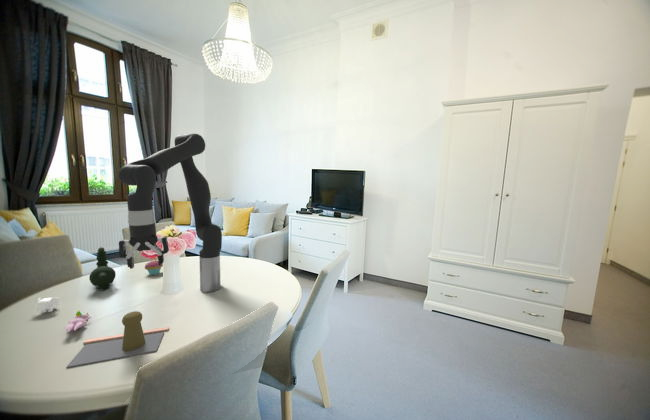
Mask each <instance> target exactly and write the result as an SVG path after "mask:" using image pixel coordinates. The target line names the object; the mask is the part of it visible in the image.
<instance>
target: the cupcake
mask: <svg viewBox="0 0 650 420" xmlns="http://www.w3.org/2000/svg"><path fill="white" fill-rule="evenodd" d="M157 259H158V255H157V256H156V257H155V256H154V260H151V261H149V262H147V263H146V264H145V266H144V269H145V270H147V272H148V274H149V275H151V276H152V275H157V274H160V271H161V269H162V267H164V265H163V263H164V262H163V263H162V265H159V263H158V260H157Z"/></svg>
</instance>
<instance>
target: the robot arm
mask: <svg viewBox="0 0 650 420" xmlns="http://www.w3.org/2000/svg"><path fill="white" fill-rule="evenodd" d="M205 150H206V141H205V139H204V138H203V136H202V135H200V134H199V133H183V134H178V135H176V136H175V137H174V146H171V147H168V148H164V149H162V150H159V151H157V152H155V153H153V154H151V155H150V156H149V155H148V156H147V157H146V158H143V159H139V160H136V161H132V162H129V163H126V164H125V165H123V166H122V167H121V168H120V169H119V171H118V173H117V175H118V180H120V182H121V183H122V184H124V185H127V186H136V187H135V188H136V189H135V191H134V192H131V193H128V195H127V197H126V203H127V214H128V215H127V224H128V231H129V239H124V238H123V239H121V240H119V241H118V253H119V254H118V255H119V258H121V259H122V258H124V259H126V264H127V265H126V266H127V267H128V268H129V269H131V270H132V269H134V268H135V261H134V254H135V253H136V252H137V251H138V252H143V251H147V252H148V251H150V250H151V251H153V252H154V253H155V254H156V253H157V261H158V263H159V265H162V263H164V261H165V259H164V258H165V257H164V254H167V253H168V252H169V251H170V249H169V243H168V242H169V241H168V237H167V235H164V236H161V237H158V236H157V229H156V217H155V211H154V205H153V195H154V192H155V187H156V186H155V185H156V182H157V177H156V176H159V175H161V174H163V173H165V172H167V171H168V170H169V169H171V168H173V167H174V166H176V165H178V164H180V166H181V169H182V172H183V177H184V180H185V185H186V190H187V194H188V199H189V200H190V205H191V209H192V212H193V218H194V227H195V234H196V236H197V238H198V240H200V241H202V248H201V249H200V250H199V287H200V288H199V290H200V292H202V293H213V292H216V291H220V290H221V250H222V244H223V243H222V242H223V240H222V239H223V236H222V235H223V233H222V229H221V227H220V226H219V225H217V224H215V223H213V222H212V219H211V215H210V206H211V200H212V199H211V197H212V196H211V195H212V193H211V189H210V186H209V185H210V184H209V182H208V180H207V179H206V177H205V176H204V174H202V173H201V171H200V170H199V169H198V168H197V166H196V164H195V162H194V158H193V157H195V156H197V155H200V154H203V153H204V152H205ZM158 242H159V243H160V244H162V248H163V249H161V247H160V246H159V245H158V244H157V243H158ZM128 244H129V245H130V246H131V247H132V249H130V251H129V252H128V253H127V251H126V250H127V249H126V248H127V246H128Z"/></svg>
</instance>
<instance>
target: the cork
mask: <svg viewBox="0 0 650 420" xmlns="http://www.w3.org/2000/svg"><path fill="white" fill-rule="evenodd" d="M142 320H143V314H142V312H141V311H139V310H138V311H136V310H135V311H130V312H128V313H126V314H125V315H124V316H123V317H122V319H121V323H122V325H123V326H124V329H123V334H124V337H123V338H122V339H123V346H122V350H123V351H133V350H136V349H139V348H140V347H142V346H143V345H144V344H145V338H144V335H145V334H143V331H144V330H143V327H142Z"/></svg>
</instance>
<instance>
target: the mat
mask: <svg viewBox="0 0 650 420" xmlns="http://www.w3.org/2000/svg"><path fill="white" fill-rule="evenodd" d="M164 334H165V331H163V332H156V333H150V334H144V338H145V344H144V345H143V346H142V347H140V348H139V349H136V350H133V351H123V350H122V346H123V338H119V339H113V340H106V341H100V342H94V343H88V344H84V345H83V347H82V348H81V349H80V350H79V352H78V353H77V354H76V355H75V356H74V357H73V359H71V361H69V363H68V364H67V366H66V369H68V368H74V367H80V366H84V365H91V364H96V363H101V362H106V361H107V362H108V361H113V360H117V359H124V358H129V357H134V356H139V355H144V354H146V355H147V354H149V353H156V352H157V351H158V349H159V347H160V344H161V341H162V339H163V337H164Z"/></svg>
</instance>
